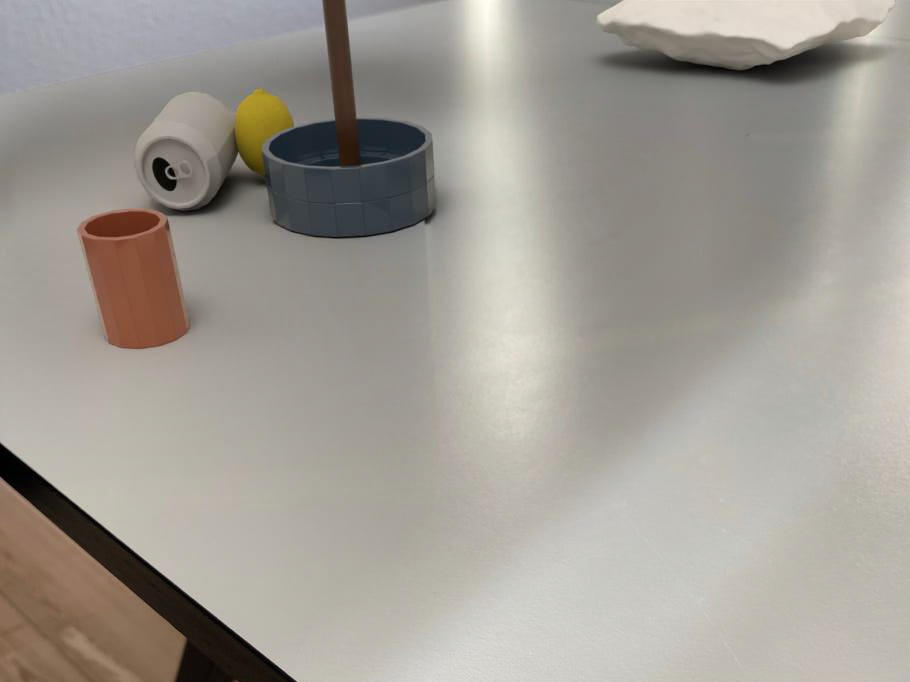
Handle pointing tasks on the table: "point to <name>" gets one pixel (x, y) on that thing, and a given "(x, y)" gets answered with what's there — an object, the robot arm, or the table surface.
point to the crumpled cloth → (740, 27)
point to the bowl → (350, 178)
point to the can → (187, 151)
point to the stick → (342, 81)
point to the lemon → (259, 126)
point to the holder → (134, 277)
